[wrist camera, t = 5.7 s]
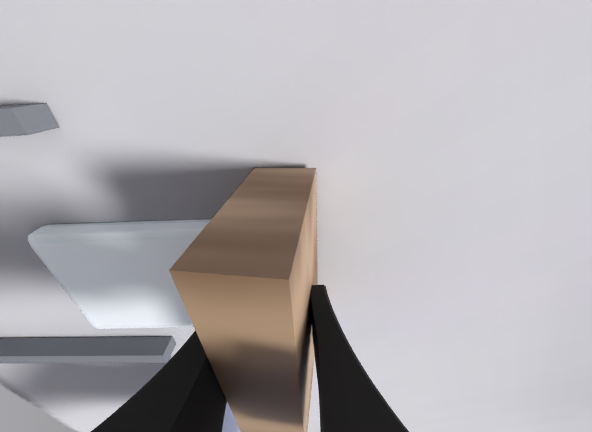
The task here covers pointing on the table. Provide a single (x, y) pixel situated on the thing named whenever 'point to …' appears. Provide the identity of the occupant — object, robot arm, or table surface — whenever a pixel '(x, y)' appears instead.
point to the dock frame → (71, 348)
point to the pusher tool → (258, 297)
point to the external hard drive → (120, 269)
